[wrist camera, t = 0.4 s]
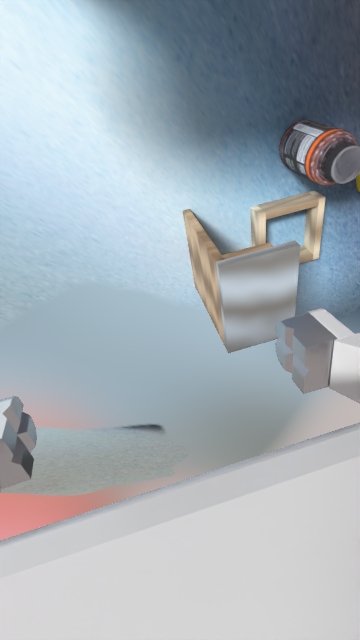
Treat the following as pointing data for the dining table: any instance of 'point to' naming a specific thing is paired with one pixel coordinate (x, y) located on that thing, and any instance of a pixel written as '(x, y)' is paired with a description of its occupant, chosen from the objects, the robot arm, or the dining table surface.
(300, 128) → the supplement bottle
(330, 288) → the dining table surface
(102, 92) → the dining table surface
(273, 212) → the socket
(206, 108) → the dining table surface
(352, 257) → the dining table surface
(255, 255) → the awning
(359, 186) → the lemon
